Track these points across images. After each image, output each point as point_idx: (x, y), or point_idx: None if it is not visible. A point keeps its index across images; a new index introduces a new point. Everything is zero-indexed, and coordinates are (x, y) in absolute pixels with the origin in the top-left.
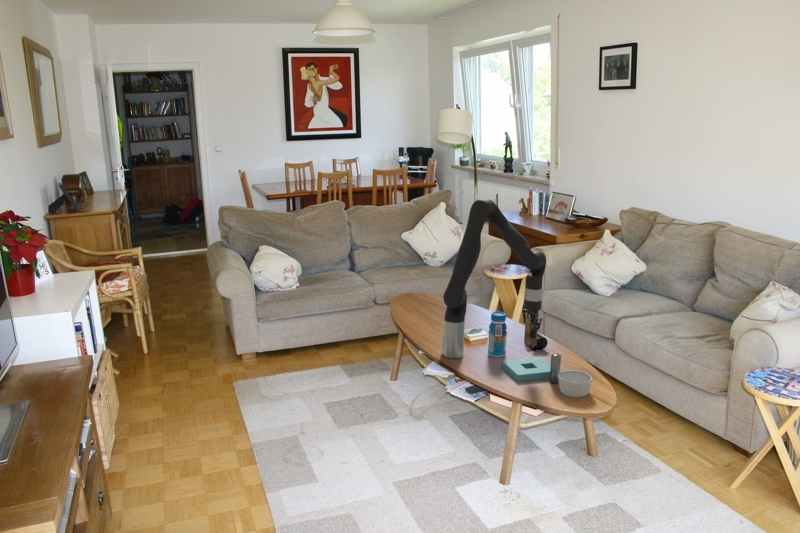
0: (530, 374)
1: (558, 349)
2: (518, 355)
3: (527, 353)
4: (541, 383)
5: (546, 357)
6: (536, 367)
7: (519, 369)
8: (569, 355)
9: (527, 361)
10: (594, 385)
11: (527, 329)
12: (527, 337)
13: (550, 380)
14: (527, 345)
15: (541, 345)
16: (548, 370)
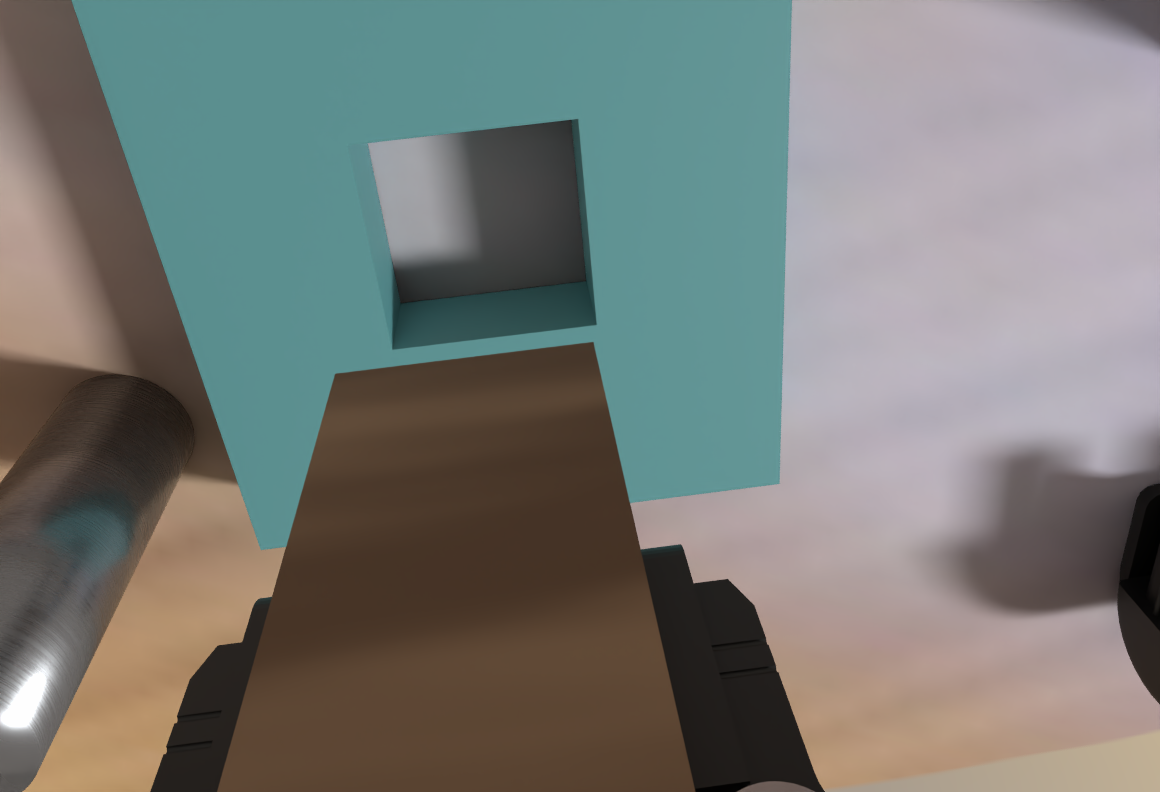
0: (129, 149)
1: (1058, 721)
2: (1106, 262)
3: (1112, 398)
4: (52, 252)
5: (904, 563)
6: (434, 338)
7: (324, 12)
8: (872, 765)
9: (662, 276)
10: (63, 764)
11: (402, 734)
12: (392, 504)
13: (83, 392)
14: (380, 369)
15: (1157, 614)
16: (276, 460)
